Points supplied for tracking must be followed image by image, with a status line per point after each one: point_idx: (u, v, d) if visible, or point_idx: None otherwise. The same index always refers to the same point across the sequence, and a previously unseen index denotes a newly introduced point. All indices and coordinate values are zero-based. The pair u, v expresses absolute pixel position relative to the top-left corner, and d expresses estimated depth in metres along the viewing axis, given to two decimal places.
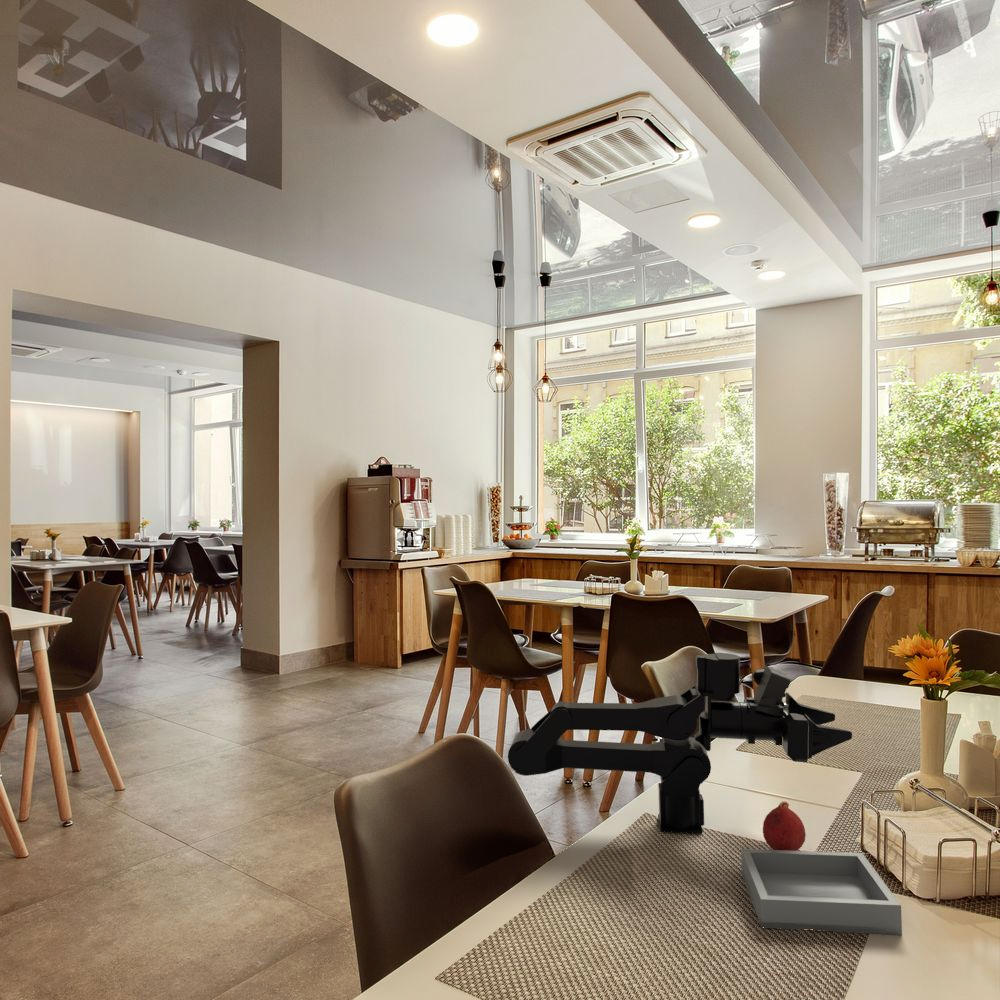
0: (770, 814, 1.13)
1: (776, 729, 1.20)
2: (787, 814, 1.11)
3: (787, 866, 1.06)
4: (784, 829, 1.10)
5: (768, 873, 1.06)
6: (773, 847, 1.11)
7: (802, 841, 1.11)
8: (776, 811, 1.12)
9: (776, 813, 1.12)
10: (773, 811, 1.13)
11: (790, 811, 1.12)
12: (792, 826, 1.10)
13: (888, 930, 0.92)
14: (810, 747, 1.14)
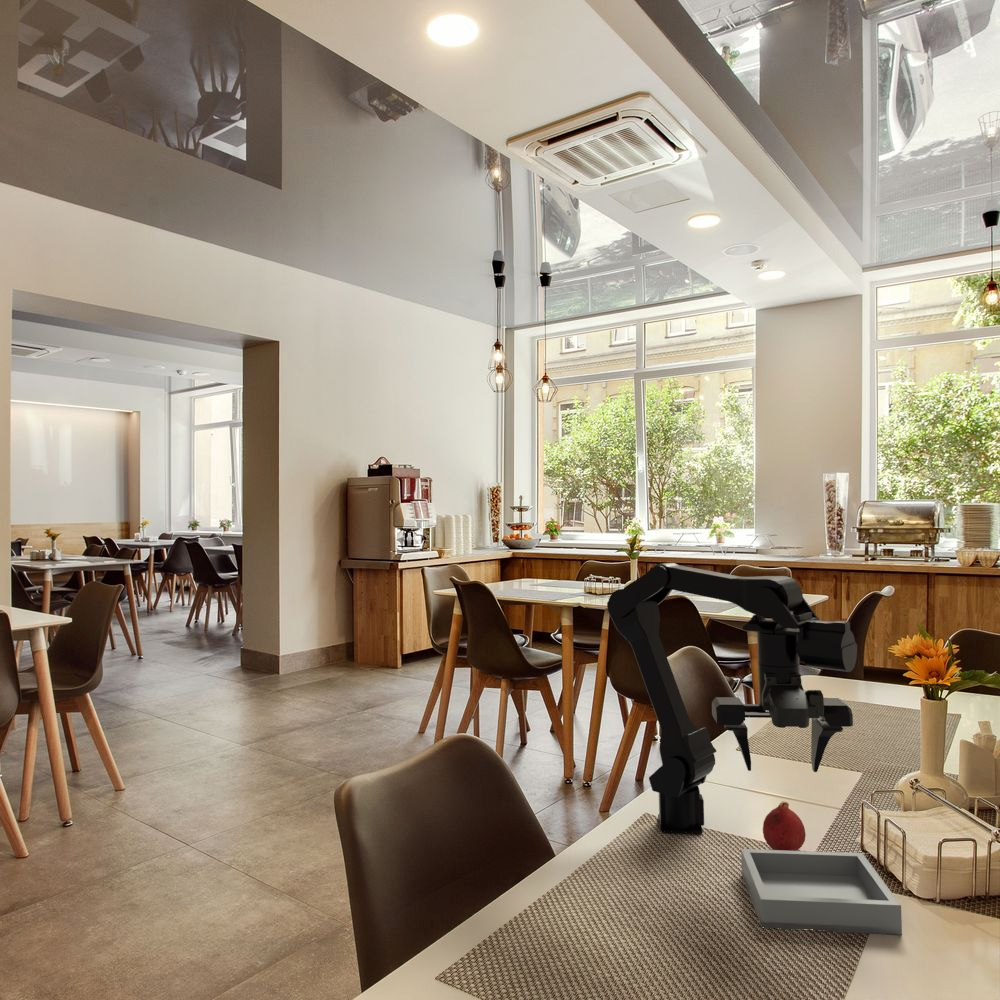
0: (770, 814, 1.13)
1: (759, 698, 1.14)
2: (787, 814, 1.11)
3: (787, 866, 1.06)
4: (784, 829, 1.10)
5: (768, 873, 1.06)
6: (773, 847, 1.11)
7: (802, 841, 1.11)
8: (776, 811, 1.12)
9: (776, 813, 1.12)
10: (773, 811, 1.13)
11: (790, 811, 1.12)
12: (792, 826, 1.10)
13: (888, 930, 0.92)
14: None
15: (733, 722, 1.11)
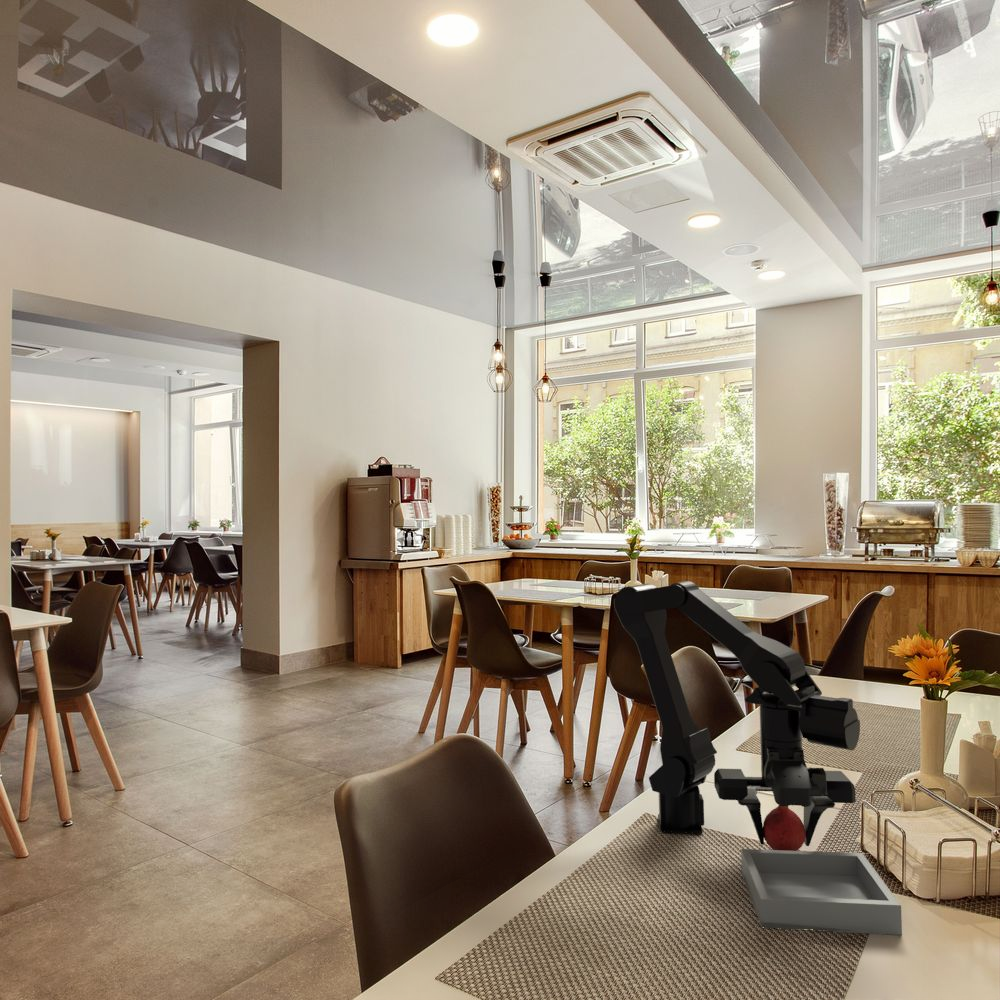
0: (770, 814, 1.13)
1: (761, 771, 1.13)
2: (787, 814, 1.11)
3: (787, 866, 1.06)
4: (784, 829, 1.10)
5: (768, 873, 1.06)
6: (773, 847, 1.11)
7: (802, 841, 1.11)
8: (776, 811, 1.12)
9: (776, 813, 1.12)
10: (773, 811, 1.13)
11: (790, 811, 1.12)
12: (792, 826, 1.10)
13: (888, 930, 0.92)
14: None
15: (735, 797, 1.11)
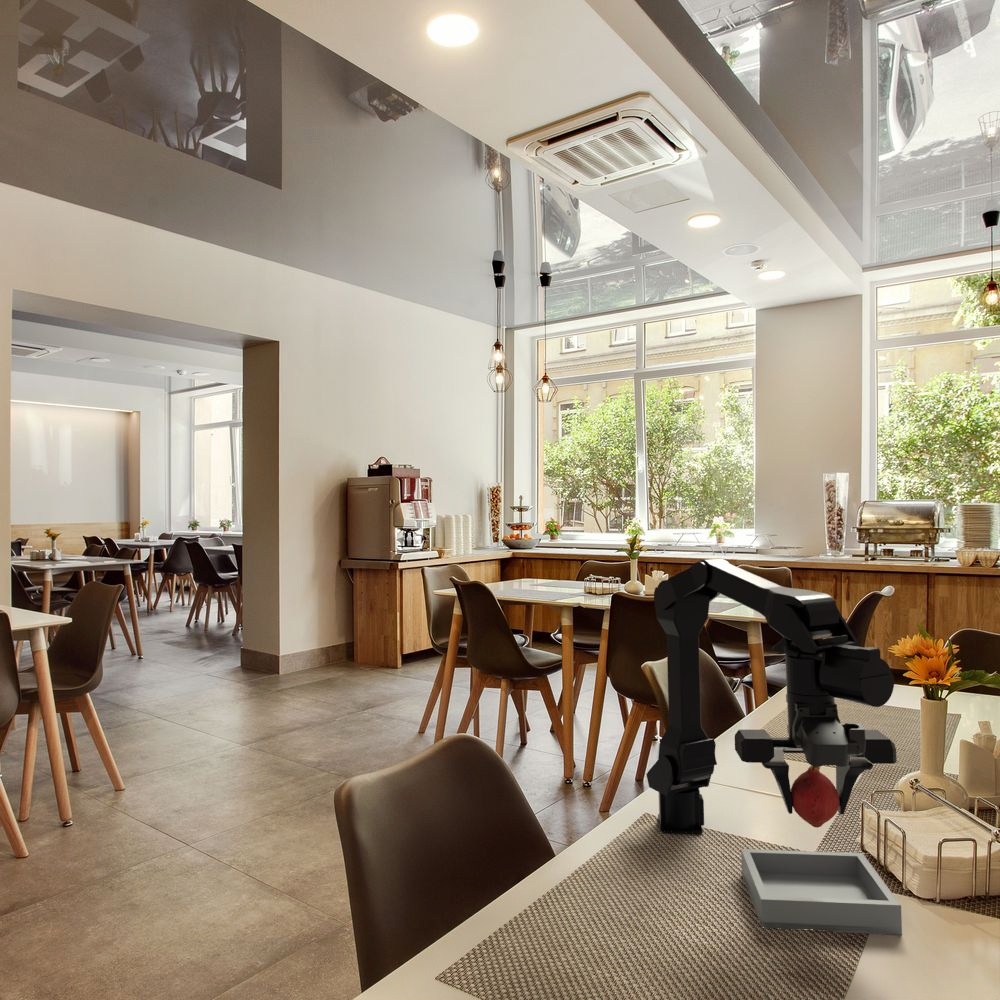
0: (799, 779, 1.00)
1: (788, 730, 1.01)
2: (819, 778, 0.99)
3: (787, 866, 1.06)
4: (816, 794, 0.97)
5: (768, 873, 1.06)
6: (803, 815, 0.98)
7: (836, 808, 0.98)
8: (805, 775, 0.99)
9: (806, 777, 0.99)
10: (802, 775, 1.00)
11: (821, 775, 0.99)
12: (824, 791, 0.97)
13: (888, 930, 0.92)
14: None
15: (760, 759, 0.98)
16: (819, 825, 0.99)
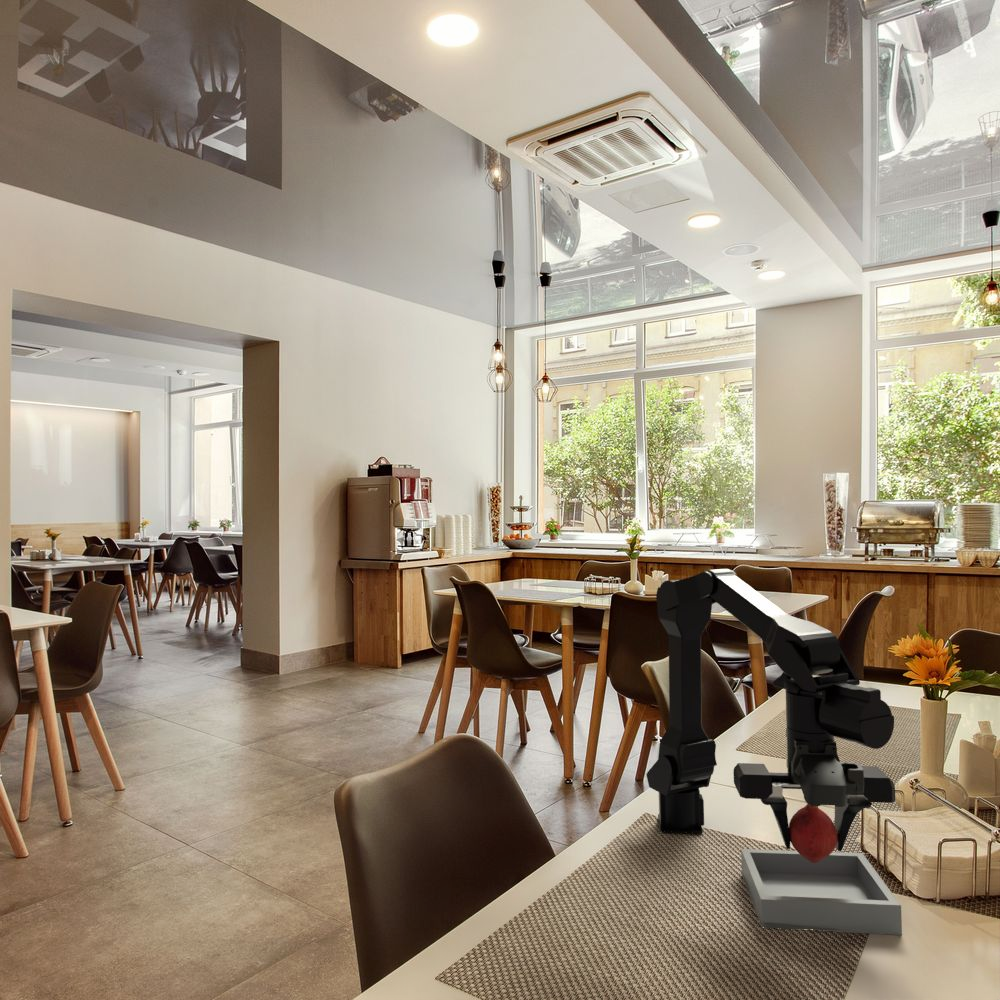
0: (797, 814, 1.00)
1: (787, 766, 1.01)
2: (817, 815, 0.99)
3: (787, 866, 1.06)
4: (814, 831, 0.97)
5: (768, 873, 1.06)
6: (801, 852, 0.98)
7: (834, 845, 0.98)
8: (804, 811, 0.99)
9: (805, 813, 0.99)
10: (800, 811, 1.00)
11: (820, 811, 0.99)
12: (822, 828, 0.97)
13: (888, 930, 0.92)
14: None
15: (759, 795, 0.98)
16: (817, 861, 0.99)
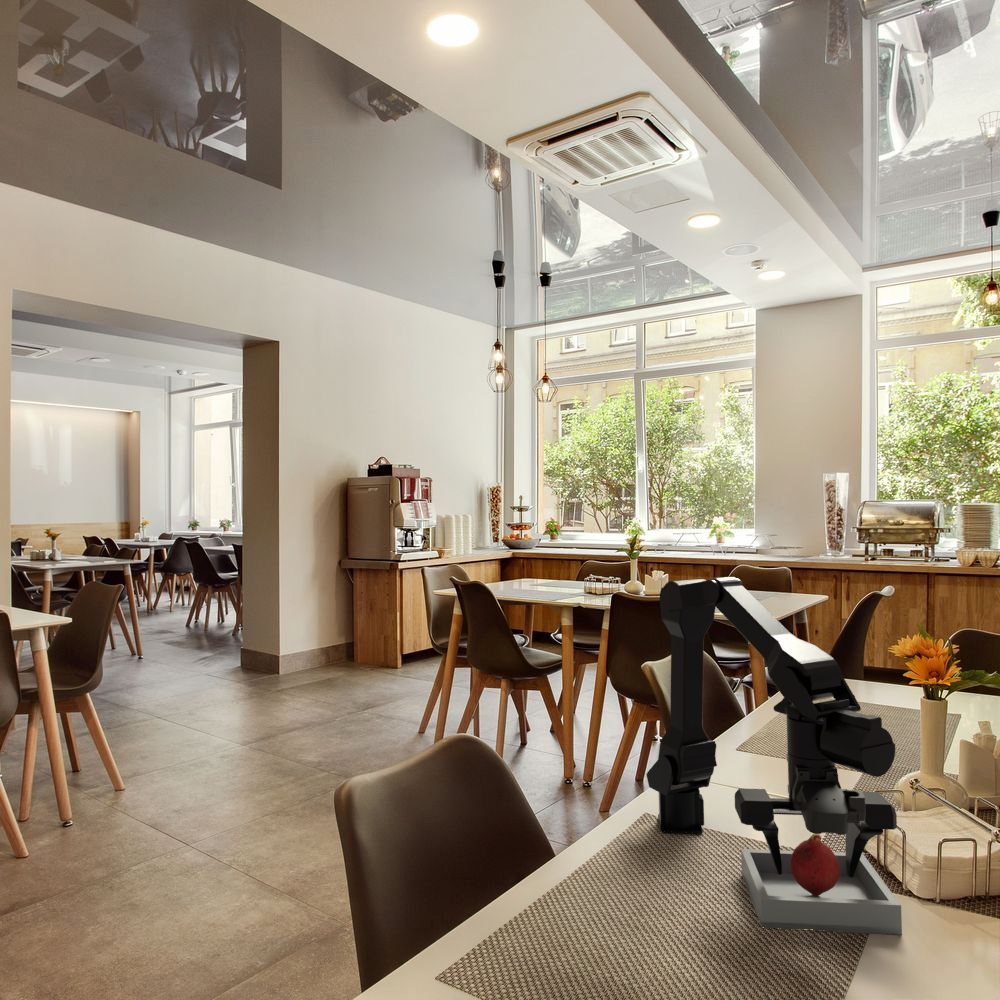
0: (800, 848, 0.99)
1: (788, 791, 1.00)
2: (820, 849, 0.98)
3: (787, 866, 1.06)
4: (816, 867, 0.97)
5: (768, 873, 1.06)
6: (803, 885, 0.98)
7: (836, 880, 0.97)
8: (806, 845, 0.99)
9: (807, 847, 0.99)
10: (803, 845, 0.99)
11: (823, 845, 0.99)
12: (825, 863, 0.97)
13: (888, 930, 0.92)
14: None
15: (760, 822, 0.98)
16: (818, 894, 0.99)
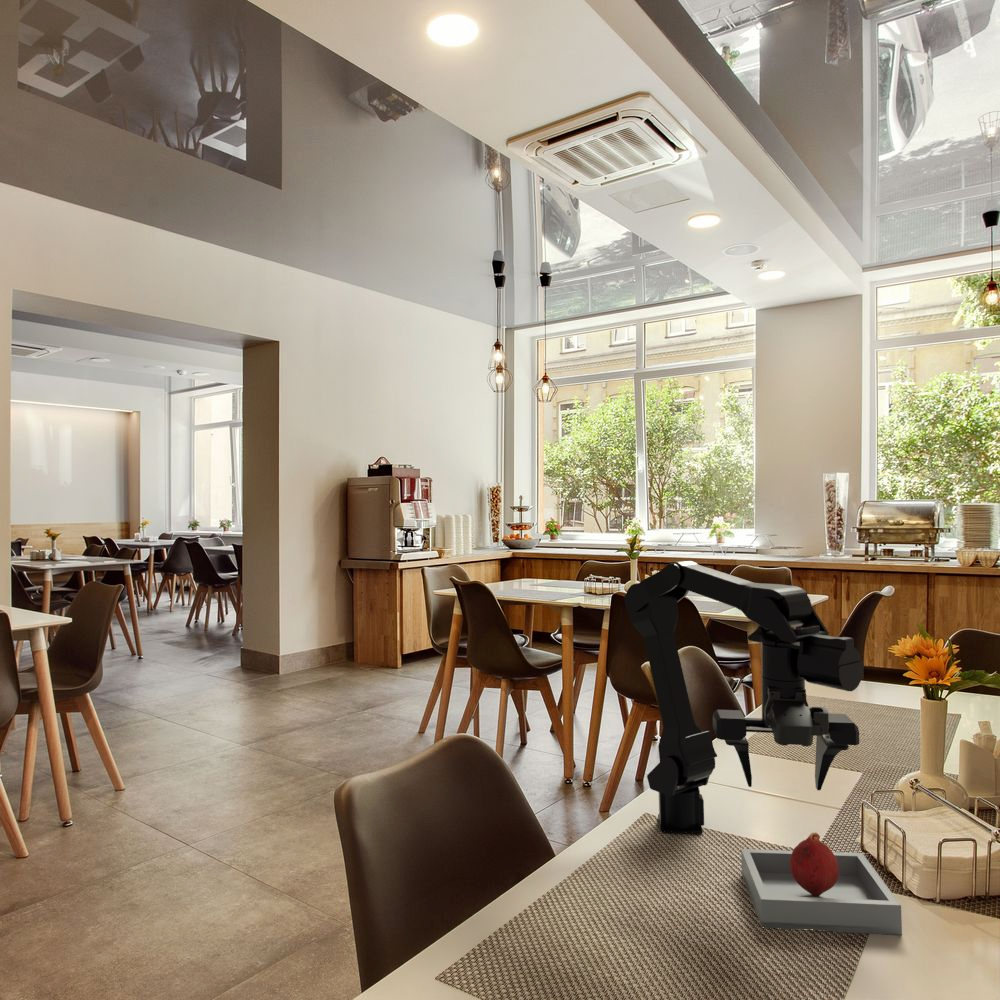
0: (798, 847, 1.00)
1: None
2: (819, 848, 0.98)
3: (787, 866, 1.06)
4: (815, 865, 0.97)
5: (768, 873, 1.06)
6: (802, 885, 0.98)
7: (835, 878, 0.98)
8: (805, 844, 0.99)
9: (806, 846, 0.99)
10: (802, 844, 1.00)
11: (821, 844, 0.99)
12: (824, 861, 0.97)
13: (888, 930, 0.92)
14: None
15: (734, 737, 1.07)
16: (818, 894, 0.99)
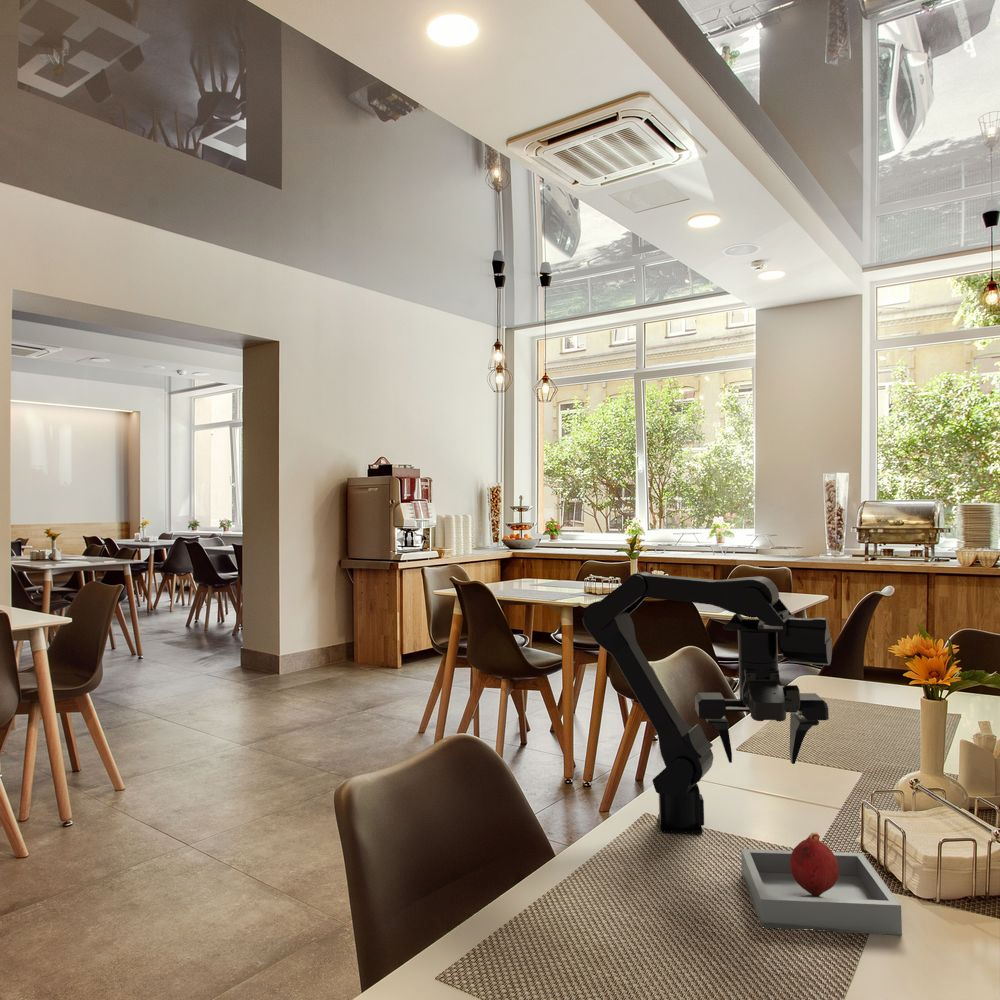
0: (798, 847, 1.00)
1: None
2: (818, 848, 0.98)
3: (787, 866, 1.06)
4: (815, 865, 0.97)
5: (768, 873, 1.06)
6: (802, 885, 0.98)
7: (835, 878, 0.98)
8: (805, 844, 0.99)
9: (806, 846, 0.99)
10: (802, 844, 1.00)
11: (821, 844, 0.99)
12: (824, 861, 0.97)
13: (888, 930, 0.92)
14: None
15: (714, 716, 1.16)
16: (818, 894, 0.99)
